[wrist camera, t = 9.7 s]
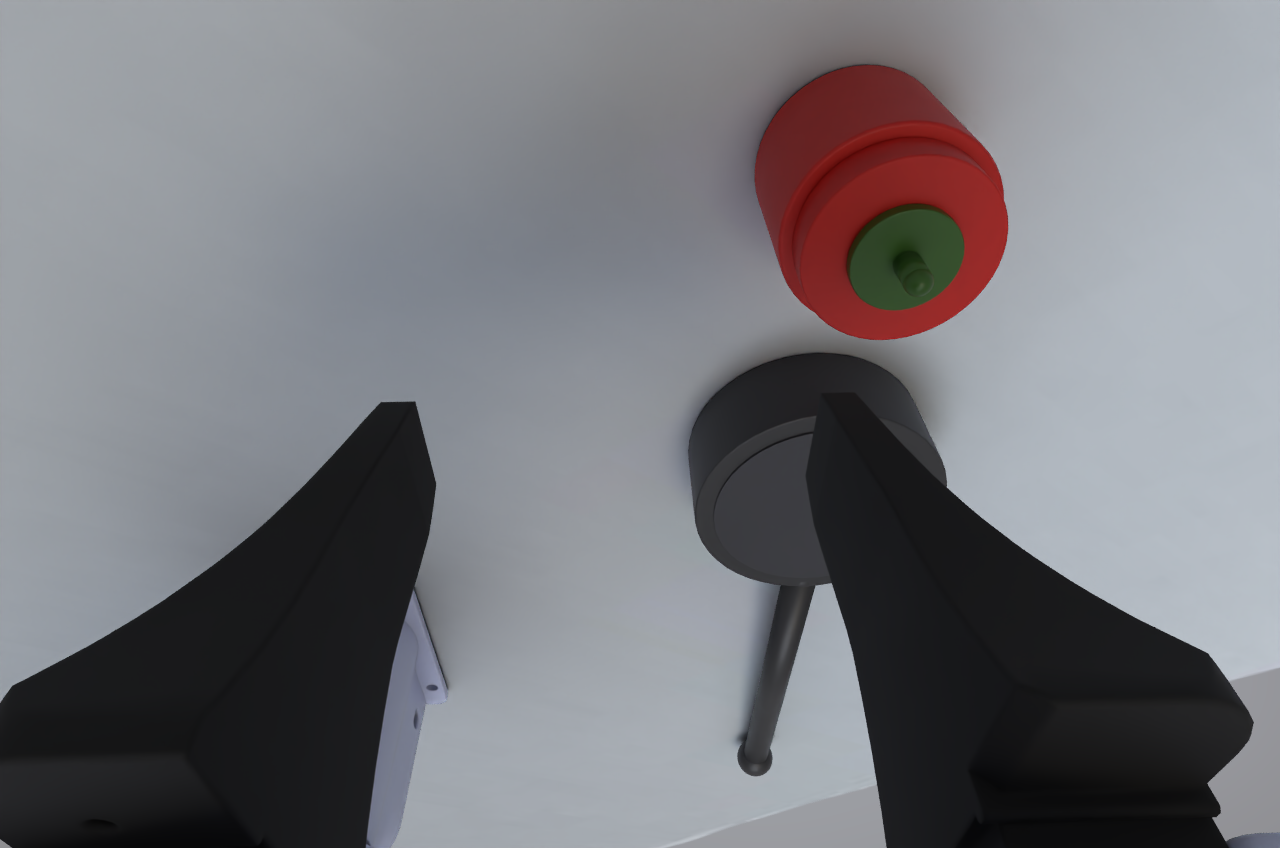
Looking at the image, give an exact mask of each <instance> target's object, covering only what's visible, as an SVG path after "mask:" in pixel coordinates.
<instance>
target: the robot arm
mask: <svg viewBox="0 0 1280 848" xmlns="http://www.w3.org/2000/svg"><path fill="white" fill-rule="evenodd" d="M805 477H806V483H807V489H808V495H809V501H810V507H811V512H812V518H813V523H814V527H815V531H816V534H817V537H818V540H819V544H820V547H821V550H822V553H823V557H824V560H825V563H826V566H827V569H828V572H829V576H830V579H831V582H832V585H833V588H834V591H835V595H836V598H837V601H838V604H839V607H840V610H841V613H842V617H843V620H844V623H845V626H846V629H847V633H848V637H849V640H850V644H851V648H852V652H853V656H854V661H855V666H856V671H857V676H858V681H859V686H860V691H861V696H862V701H863V706H864V712H865V717H866V722H867V728H868V733H869V739H870V744H871V750H872V755H873V762H874V768H875V774H876V780H877V786H878V792H879V799H880V805H881V811H882V818H883V825H884V832H885V839H886V846H887V848H1280V833H1255V834H1247V835H1242V836H1239V837H1235V838H1232V839H1229V840H1228V841H1225V840H1224V838H1223V836H1222V835H1221V833H1220V831H1219V829H1218V828H1217V826H1216V824H1215V822H1214V821H1213V819H1212V817H1217V816H1218V815H1219V814H1220V813H1221V810H1220V805H1219V803H1218V801H1217V800H1216V798H1215V796H1214V794H1213V793H1212V791H1211V789H1210V788H1209V786H1208V784H1207V783H1208V782H1209V781H1210V780H1211V779H1212V778H1213V777H1214V776H1215V775H1216V774H1217V773H1218V772H1219V771H1220V770H1221V769H1222V768H1223V767H1225V766H1226V764H1228V763H1229V762H1230V761H1231V760H1232V759H1233V758H1234V757H1235V756H1236V755H1237V754H1238V753H1239V752H1240V751H1241V749H1242V748H1243V747H1244V746H1245V744H1246V743H1247V742H1248V740H1249V738H1250V736H1251V732H1252V727H1253V723H1254V722H1253V720H1252V718H1251V716H1250V714H1249V712H1248V710H1247V709H1246V707H1245V705H1244V704H1243V703H1242V701H1241V699H1240V698H1239V697H1238V695H1237V693H1236V692H1235V690H1234V689H1233V687H1232V686H1231V684H1230V683H1229V681H1228V680H1227V679H1226V677H1225V676H1224V674H1223V673H1222V672H1221V670H1220V669H1219V667H1218V666H1217V665H1216V663H1215V662H1214V661H1213V659H1212V658H1211V657H1210V656H1209V654H1208V653H1206V652H1204V651H1202V650H1200V649H1198V648H1196V647H1194V646H1192V645H1190V644H1188V643H1186V642H1184V641H1181V640H1179V639H1177V638H1175V637H1173V636H1171V635H1169V634H1167V633H1165V632H1163V631H1161V630H1159V629H1157V628H1155V627H1153V626H1151V625H1149V624H1147V623H1145V622H1142V621H1140V620H1139V619H1137V618H1135V617H1133V616H1131V615H1129V614H1127V613H1126V612H1124V611H1122V610H1120V609H1118V608H1117V607H1115V606H1113V605H1111V604H1109V603H1108V602H1106V601H1104V600H1102V599H1101V598H1099V597H1097V596H1095V595H1093V594H1092V593H1090V592H1088V591H1087V590H1085V589H1083V588H1082V587H1080V586H1078V585H1077V584H1075V583H1073V582H1072V581H1070V580H1069V579H1067V578H1065V577H1064V576H1062V575H1061V574H1059V573H1058V572H1056V571H1055V570H1053V569H1052V568H1050V567H1049V566H1047V565H1046V564H1044V563H1043V562H1041V561H1039V560H1038V559H1036V558H1035V557H1033V556H1032V555H1031V554H1029V553H1028V552H1026V551H1025V550H1023V549H1022V548H1021V547H1019V546H1018V545H1016V544H1015V543H1014V542H1012V541H1011V540H1010V539H1008V538H1007V537H1006V536H1004V535H1003V534H1002V533H1001V532H999V531H998V530H997V529H995V528H994V527H993V526H991V525H990V524H989V523H988V522H986V521H985V520H984V519H982V518H981V517H980V516H979V515H978V514H976V513H975V512H974V511H973V510H971V509H970V508H969V507H968V506H967V505H966V504H965V503H963V502H962V501H961V500H960V499H959V498H958V497H957V496H956V495H954V494H953V493H952V492H951V491H950V490H949V489H948V488H947V487H945V486H944V485H943V484H942V483H941V482H940V481H939V480H938V479H937V478H936V477H935V476H934V475H933V474H932V473H931V472H930V471H929V470H928V469H927V468H926V467H925V466H924V465H923V464H922V463H921V462H920V461H919V460H918V459H917V458H916V457H915V456H914V455H913V454H912V453H911V452H910V451H909V450H908V449H907V448H906V447H905V446H904V445H903V444H902V443H901V442H900V441H899V440H898V439H897V437H896V436H895V435H894V434H893V433H892V432H891V431H890V430H889V429H888V428H887V427H886V426H885V424H884V423H883V422H882V421H881V420H880V419H879V418H878V417H877V416H876V415H875V413H874V412H873V411H872V410H871V409H870V408H869V407H868V406H867V405H866V404H865V403H864V401H863V400H862V399H861V398H860V397H859V396H858V395H857V394H856V393H855V392H843V393H821V394H820V400H819V405H818V410H817V416H816V421H815V427H814V432H813V437H812V443H811V448H810V453H809V459H808V464H807V469H806V475H805ZM435 490H436V481H435V477H434V473H433V469H432V465H431V462H430V458H429V454H428V450H427V446H426V442H425V438H424V434H423V430H422V426H421V422H420V418H419V414H418V410H417V406H416V403H415V402H381V403H380V404H379V405H378V406H377V407H376V408H375V409H374V410H373V411H372V412H371V413H370V414H369V415H368V417H367V418H366V419H365V420H364V421H363V422H362V423H361V424H360V425H359V427H358V428H357V429H356V430H355V431H354V432H353V433H352V434H351V436H350V437H349V438H348V439H347V440H346V441H345V442H344V443H343V444H342V446H341V447H340V448H339V449H338V450H337V451H336V452H335V453H334V454H333V456H332V457H331V458H330V459H329V460H328V461H327V462H326V463H325V464H324V465H323V466H322V467H321V468H320V469H319V470H318V471H317V473H316V474H315V475H314V476H313V477H312V478H311V479H310V480H309V481H308V482H307V483H306V484H305V485H304V486H303V487H302V488H301V489H300V490H299V491H298V492H297V493H296V494H295V495H294V496H293V497H292V498H291V499H290V500H289V501H288V502H287V503H286V504H285V505H284V506H283V507H282V508H281V509H279V510H278V511H277V512H276V513H275V514H274V515H273V516H272V517H271V518H270V519H269V520H268V521H267V522H266V523H265V524H263V525H262V526H261V527H260V528H259V529H258V530H256V531H255V532H254V533H253V534H252V535H251V536H249V537H248V538H247V539H246V540H245V541H243V542H242V543H241V544H240V545H238V546H237V547H236V548H235V549H233V550H232V551H231V552H230V553H229V554H227V555H226V556H225V557H224V558H222V559H221V560H220V561H218V562H217V563H216V564H214V565H213V566H212V567H210V568H209V569H207V570H206V571H205V572H203V573H202V574H200V575H199V576H198V577H196V578H195V579H193V580H192V581H190V582H189V583H188V584H186V585H185V586H183V587H182V588H181V589H179V590H178V591H176V592H175V593H174V594H172V595H171V596H169V597H168V598H166V599H165V600H163V601H162V602H160V603H159V604H157V605H156V606H154V607H153V608H151V609H149V610H148V611H146V612H145V613H143V614H142V615H140V616H138V617H137V618H135V619H134V620H132V621H130V622H129V623H127V624H125V625H124V626H122V627H120V628H119V629H117V630H115V631H114V632H112V633H110V634H109V635H107V636H105V637H104V638H102V639H100V640H98V641H96V642H95V643H93V644H91V645H89V646H88V647H86V648H84V649H82V650H80V651H78V652H76V653H75V654H73V655H71V656H69V657H67V658H65V659H63V660H61V661H59V662H58V663H56V664H54V665H52V666H50V667H48V668H46V669H44V670H42V671H41V672H39V673H37V674H35V675H33V676H31V677H29V678H27V679H25V680H23V681H21V682H19V683H17V684H15V685H13V686H12V687H11V689H10V690H9V691H8V693H7V694H6V695H5V697H4V698H3V700H2V701H1V703H0V839H1V840H2V841H4V842H5V843H6V844H8V845H9V846H10V847H12V848H391V846H392V844H393V843H394V841H395V839H396V837H397V834H398V832H399V829H400V826H401V822H402V818H403V813H404V808H405V803H406V798H407V793H408V788H409V783H410V778H411V774H412V769H413V764H414V759H415V754H416V749H417V744H418V739H419V734H420V730H421V725H422V720H423V715H424V710H425V705H426V704H442V703H444V702H446V700H447V697H448V690H447V687H446V684H445V681H444V678H443V675H442V672H441V669H440V666H439V663H438V660H437V657H436V654H435V651H434V648H433V645H432V642H431V639H430V636H429V633H428V630H427V627H426V624H425V621H424V618H423V615H422V612H421V609H420V606H419V603H418V600H417V597H416V594H415V591H414V586H415V582H416V579H417V575H418V572H419V568H420V565H421V561H422V558H423V554H424V551H425V547H426V544H427V540H428V536H429V531H430V525H431V519H432V512H433V505H434V497H435Z"/></svg>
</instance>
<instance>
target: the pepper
mask: <svg viewBox="0 0 1280 848" xmlns="http://www.w3.org/2000/svg"><path fill="white" fill-rule="evenodd" d="M755 187H756V193H757V197H758V201H759V204H760V207H761V210H762V213H763V216H764V219H765V222H766V225H767V228H768V231H769V234H770V237H771V240H772V243H773V247H774V250H775V253H776V256H777V259H778V262H779V265H780V268H781V271H782V273H783V276H784V278H785V280H786V283H787V284H788V286H789V288H790V289H791V291H792V292H793V294H794V295H795V296H796V297H797V298H798V299H799V300H800V302H801V303H803V304H804V305H805V306H806V307H808V308H809V309H810V310H812V311H813V312H815V313H816V314H817V315H818V316H819V318H821V319H822V320H823V321H824V322H825V323H827V324H828V325H830V326H831V327H833V328H835V329H836V330H838V331H840V332H843V333H845V334H847V335H851V336H854V337H858V338H863V339H870V340H889V339H898V338H903V337H908V336H912V335H915V334H919V333H922V332H924V331H927V330H929V329H932V328H934V327H936V326H938V325H940V324H942V323H944V322H945V321H947V320H949V319H950V318H952V317H953V316H955V315H956V314H958V313H959V312H960V311H961V310H963V309H964V308H965V307H967V306H968V305H969V304H970V303H971V302H972V301H973V300H974V299H975V298H976V297H977V296H978V295H979V294H980V293H981V291H982V290H983V289H984V288H985V287H986V285H987V284H988V282H989V281H990V280H991V278H992V277H993V275H994V273H995V271H996V269H997V268H998V266H999V263H1000V261H1001V258H1002V256H1003V254H1004V250H1005V246H1006V242H1007V234H1008V215H1007V210H1006V205H1005V202H1004V190H1003V185H1002V180H1001V176H1000V173H999V171H998V168H997V165H996V163H995V162H994V160H993V158H992V157H991V155H990V153H989V152H988V151H987V150H986V149H985V148H984V147H983V145H982V144H981V143H980V142H979V141H978V140H977V139H976V138H975V137H974V136H973V135H972V134H971V133H970V132H969V131H968V130H967V129H966V128H965V127H964V126H963V125H962V124H961V123H960V122H959V121H958V120H957V119H956V118H955V117H954V116H953V115H952V114H951V113H950V112H949V111H948V110H947V108H946V107H945V106H944V105H943V104H942V103H941V102H940V101H939V100H938V99H937V98H936V97H935V96H934V95H933V94H932V93H931V92H930V91H929V90H928V89H927V88H926V87H925V86H924V85H923V84H921V83H920V82H919V81H918V80H916V79H915V78H913V77H912V76H910V75H908V74H906V73H905V72H902V71H899V70H896V69H894V68H889V67H884V66H878V65H861V66H852V67H847V68H843V69H839V70H836V71H833V72H831V73H828V74H825V75H823V76H821V77H819V78H818V79H816V80H814V81H812V82H811V83H809V84H808V85H806V86H805V87H803V88H802V89H800V90H799V91H798V92H797V93H796V94H794V95H793V96H792V97H791V98H790V99H789V100H788V101H787V102H786V103H785V104H784V105H783V106H782V107H781V109H780V110H779V111H778V113H777V114H776V115H775V117H774V118H773V119H772V121H771V123H770V124H769V126H768V128H767V130H766V131H765V134H764V136H763V139H762V141H761V143H760V147H759V150H758V154H757V158H756V164H755Z"/></svg>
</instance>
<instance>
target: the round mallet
mask: <svg viewBox="0 0 1280 848" xmlns="http://www.w3.org/2000/svg"><path fill="white" fill-rule="evenodd" d="M843 392H855V393H856V394H857V395H858V396H859V397H860V398H861V399H862V400H863V401H864V403H865V404H866V405H867V406H868V407H869V408H870V409H871V410H872V411H873V412H874V413H875V415H876V416H877V417H878V418H879V419H880V420H881V421H882V422H883V423H884V424H885V426H886V427H887V428H888V429H889V430H890V431H891V432H892V433H893V434H894V435H895V436H896V437H897V439H898V440H899V441H900V442H901V443H902V444H903V445H904V446H905V447H906V448H907V449H908V450H909V451H910V452H911V453H912V454H913V455H914V456H915V457H916V458H917V459H918V460H919V461H920V462H921V463H922V464H923V465H924V466H925V467H926V468H927V469H928V470H929V471H930V472H931V473H932V474H933V475H934V476H935V477H936V478H937V479H938V480H939V481H940V482H941V483H942V484H943V485H944V486H945V487H947V479H946V471H945V468H944V465H943V462H942V459H941V457H940V455H939V453H938V451H937V449H936V447H935V445H934V442H933V440H932V438H931V436H930V434H929V432H928V430H927V428H926V426H925V423H924V421H923V419H922V417H921V415H920V413H919V411H918V409H917V407H916V404H915V402H914V400H913V399H912V397H911V395H910V393H909V392H908V390H907V389H906V388H905V387H904V385H903V384H902V383H901V382H900V381H899V380H898V379H897V378H895V377H894V376H893V375H892V374H890V373H889V372H887V371H886V370H884V369H882V368H881V367H879V366H877V365H875V364H872V363H870V362H867V361H865V360H861V359H858V358H854V357H850V356H844V355H837V354H807V355H799V356H793V357H788V358H783V359H780V360H776V361H773V362H770V363H767V364H764V365H762V366H760V367H757V368H755V369H753V370H751V371H749V372H747V373H745V374H743V375H741V376H740V377H738V378H737V379H735V380H734V381H732V382H731V383H729V384H728V385H726V386H725V387H724V388H723V389H722V390H721V391H720V392H718V393H717V394H716V395H715V396H714V397H713V398H712V400H711V401H710V402H709V403H708V404H707V405H706V407H705V408H704V410H703V411H702V412H701V414H700V415H699V417H698V419H697V421H696V423H695V425H694V427H693V430H692V434H691V437H690V441H689V449H688V454H689V467H690V477H691V486H692V496H693V506H694V515H695V523H696V527H697V531H698V534H699V536H700V538H701V541H702V543H703V544H704V546H705V547H706V548H707V550H708V551H709V553H710V554H711V555H712V556H713V557H714V558H715V559H716V560H717V561H719V562H720V563H721V564H723V565H724V566H725V567H727V568H729V569H730V570H732V571H734V572H736V573H738V574H740V575H743V576H745V577H747V578H750V579H754V580H757V581H760V582H765V583H770V584H776V585H781V587H780V591H779V596H778V600H777V605H776V609H775V614H774V618H773V623H772V627H771V632H770V636H769V641H768V645H767V650H766V655H765V659H764V664H763V668H762V673H761V677H760V682H759V686H758V691H757V695H756V700H755V704H754V709H753V713H752V718H751V722H750V727H749V731H748V736H747V740H746V741H745V742H743V743H742V745H741V746H740V748H739V750H738V756H737V757H738V763H739V765H740V767H741V769H742V770H743V771H744V772H745V773H747V774H749V775H751V776H761V775H763V774H765V773H766V772H767V771H768V770H769V769H770V767H771V764H772V752H771V750H770V746H771V742H772V739H773V735H774V732H775V728H776V724H777V721H778V717H779V714H780V710H781V707H782V703H783V699H784V696H785V692H786V689H787V685H788V682H789V678H790V674H791V671H792V667H793V664H794V660H795V657H796V653H797V650H798V646H799V642H800V639H801V635H802V632H803V628H804V625H805V621H806V617H807V614H808V610H809V607H810V603H811V600H812V596H813V592H814V589H815V585H822V584H829V583H832V582H831V579H830V576H829V572H828V569H827V566H826V563H825V560H824V557H823V553H822V550H821V547H820V544H819V540H818V537H817V534H816V531H815V527H814V523H813V518H812V512H811V507H810V501H809V495H808V489H807V483H806V477H805V475H806V469H807V464H808V459H809V453H810V448H811V443H812V437H813V432H814V427H815V421H816V416H817V410H818V405H819V400H820V394H821V393H843Z"/></svg>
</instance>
